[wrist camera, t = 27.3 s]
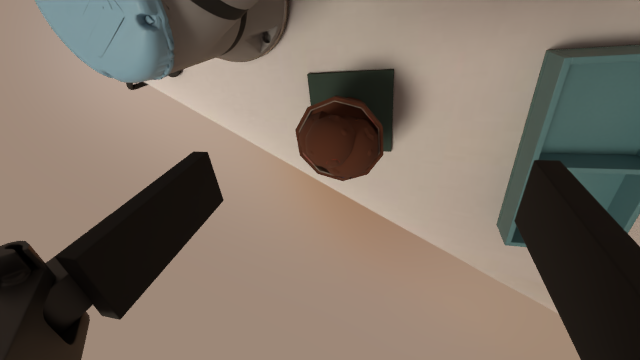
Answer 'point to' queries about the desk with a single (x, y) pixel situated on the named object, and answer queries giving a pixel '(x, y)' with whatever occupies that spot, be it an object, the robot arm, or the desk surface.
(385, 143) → the mat
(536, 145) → the divided tray
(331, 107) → the ice cream bowl
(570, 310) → the robot arm
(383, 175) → the desk surface
